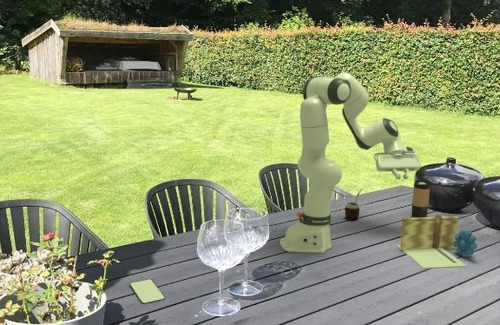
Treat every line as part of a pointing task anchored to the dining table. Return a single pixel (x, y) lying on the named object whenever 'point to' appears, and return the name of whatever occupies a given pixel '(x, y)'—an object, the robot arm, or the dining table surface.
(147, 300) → the smartphone
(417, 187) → the travel mug
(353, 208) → the mate gourd
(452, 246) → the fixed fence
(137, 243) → the dining table surface
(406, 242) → the gate panel
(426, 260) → the board
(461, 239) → the grapes
